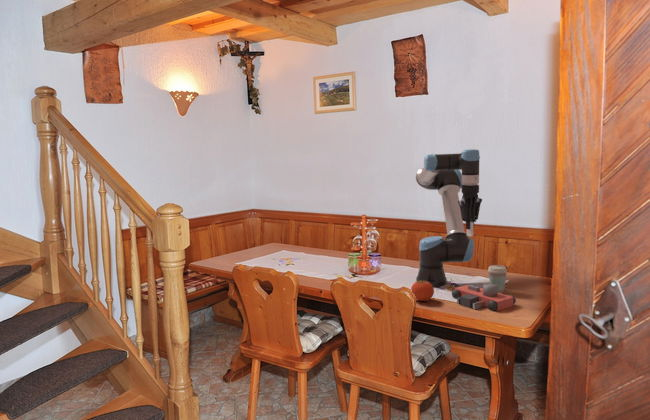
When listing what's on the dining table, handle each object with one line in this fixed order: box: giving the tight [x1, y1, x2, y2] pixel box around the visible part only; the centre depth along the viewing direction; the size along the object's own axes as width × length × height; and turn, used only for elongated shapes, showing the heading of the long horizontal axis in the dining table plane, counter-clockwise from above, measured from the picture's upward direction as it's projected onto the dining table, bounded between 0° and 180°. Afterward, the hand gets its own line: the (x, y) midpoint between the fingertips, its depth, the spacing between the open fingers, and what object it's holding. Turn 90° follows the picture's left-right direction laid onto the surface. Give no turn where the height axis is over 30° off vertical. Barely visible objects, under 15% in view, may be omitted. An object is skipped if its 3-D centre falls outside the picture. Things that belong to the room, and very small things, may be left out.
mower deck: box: [451, 283, 517, 312], centre depth 210 cm, size 24×13×8 cm, turn 32°
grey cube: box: [459, 294, 479, 309], centre depth 206 cm, size 5×6×4 cm
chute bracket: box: [456, 297, 484, 310], centre depth 207 cm, size 10×6×2 cm, turn 32°
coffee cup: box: [487, 264, 508, 294], centre depth 223 cm, size 8×8×12 cm
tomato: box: [410, 279, 435, 302], centre depth 214 cm, size 10×10×10 cm
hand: (469, 235), depth 216 cm, fingers closed
